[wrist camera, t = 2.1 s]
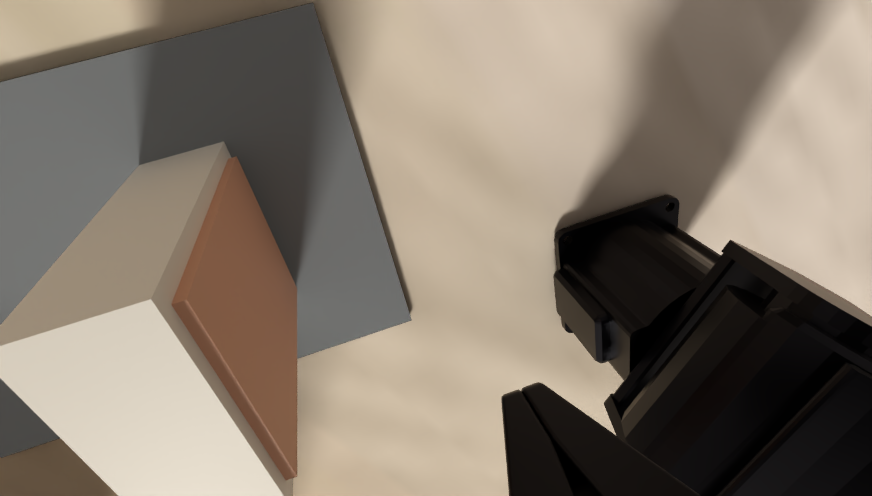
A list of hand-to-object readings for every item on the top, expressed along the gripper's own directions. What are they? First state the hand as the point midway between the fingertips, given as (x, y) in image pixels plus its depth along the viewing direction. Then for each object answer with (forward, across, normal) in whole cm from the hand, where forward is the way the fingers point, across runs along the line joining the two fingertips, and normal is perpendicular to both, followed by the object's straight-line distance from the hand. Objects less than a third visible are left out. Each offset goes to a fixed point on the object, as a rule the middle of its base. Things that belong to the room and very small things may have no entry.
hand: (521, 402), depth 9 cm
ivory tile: (+12, +8, 0) cm, 14 cm away
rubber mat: (+12, +11, 0) cm, 16 cm away
